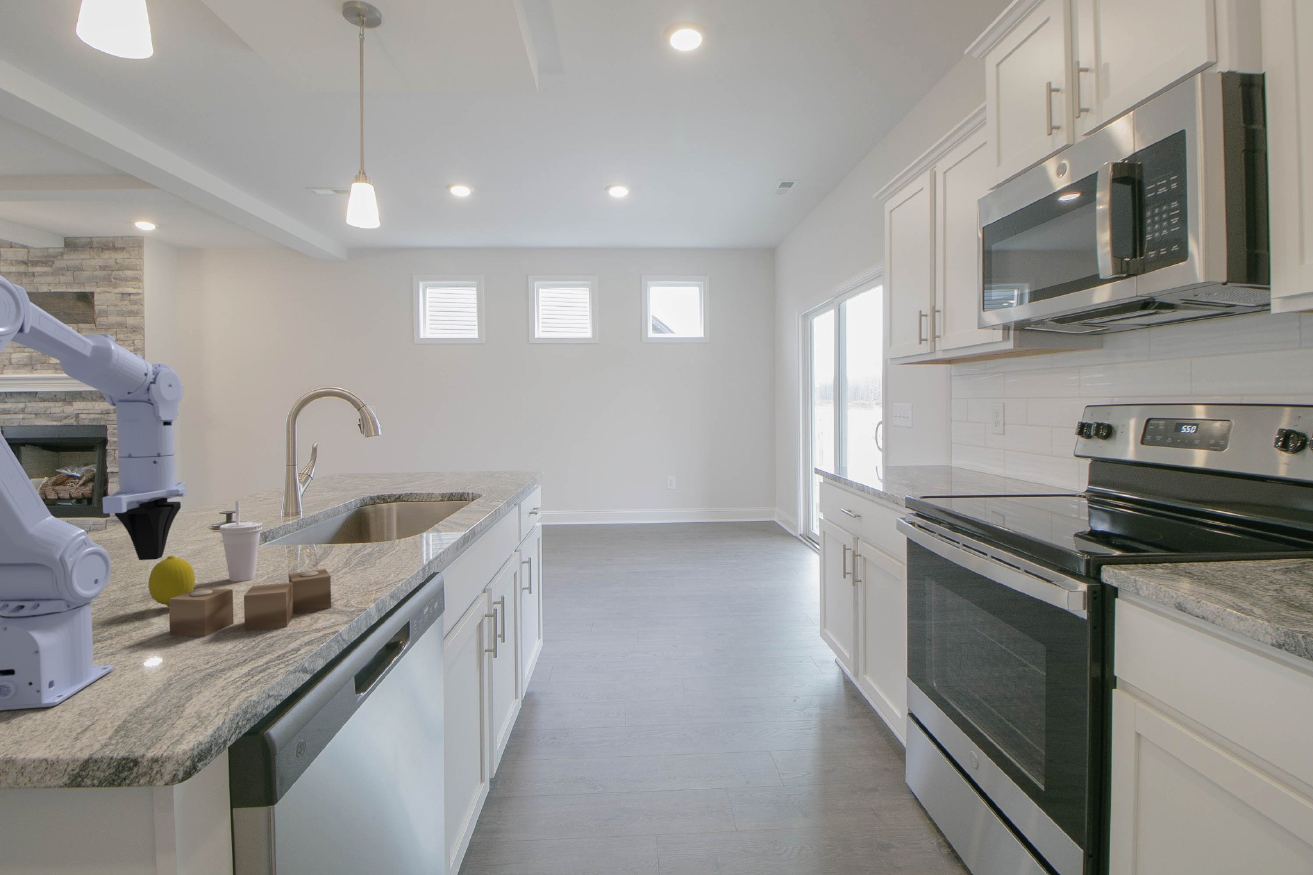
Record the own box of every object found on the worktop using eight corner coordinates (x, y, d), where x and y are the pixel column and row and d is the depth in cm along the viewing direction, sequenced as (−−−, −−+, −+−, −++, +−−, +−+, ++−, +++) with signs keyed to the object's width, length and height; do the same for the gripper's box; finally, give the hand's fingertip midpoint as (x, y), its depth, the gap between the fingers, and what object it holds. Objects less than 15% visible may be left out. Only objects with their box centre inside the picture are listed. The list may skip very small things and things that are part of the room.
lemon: (170, 615, 91) (168, 561, 91) (139, 612, 92) (137, 558, 92) (204, 603, 97) (203, 552, 96) (175, 601, 98) (173, 550, 97)
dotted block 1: (205, 637, 83) (204, 598, 83) (169, 635, 83) (168, 597, 83) (233, 624, 88) (232, 587, 88) (199, 623, 88) (198, 586, 88)
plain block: (287, 627, 87) (286, 591, 87) (244, 631, 85) (243, 595, 85) (293, 616, 91) (292, 582, 91) (253, 620, 90) (252, 585, 89)
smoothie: (211, 581, 109) (209, 501, 108) (245, 572, 115) (243, 497, 114) (239, 585, 107) (237, 503, 106) (272, 575, 113) (270, 498, 112)
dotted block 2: (331, 608, 95) (330, 574, 95) (293, 614, 92) (292, 579, 92) (325, 600, 99) (325, 567, 99) (289, 605, 96) (288, 572, 96)
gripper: (148, 460, 75) (152, 571, 76) (209, 451, 89) (212, 545, 90) (80, 461, 74) (85, 574, 75) (152, 451, 88) (156, 547, 89)
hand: (150, 558), depth 82 cm, fingers closed
